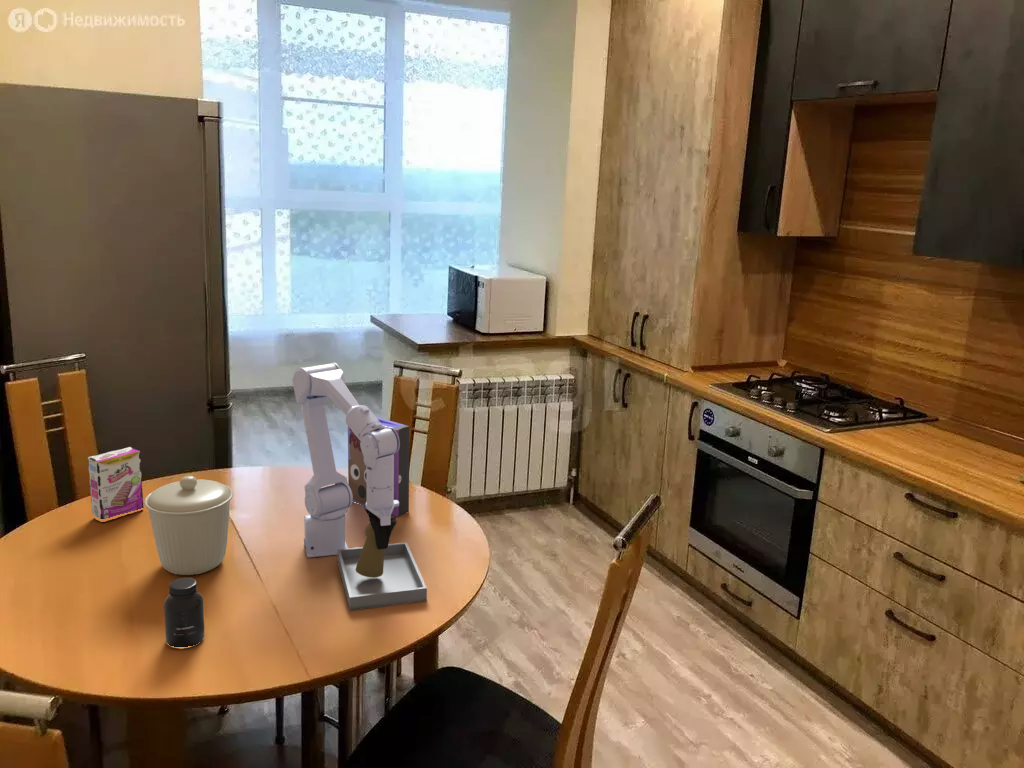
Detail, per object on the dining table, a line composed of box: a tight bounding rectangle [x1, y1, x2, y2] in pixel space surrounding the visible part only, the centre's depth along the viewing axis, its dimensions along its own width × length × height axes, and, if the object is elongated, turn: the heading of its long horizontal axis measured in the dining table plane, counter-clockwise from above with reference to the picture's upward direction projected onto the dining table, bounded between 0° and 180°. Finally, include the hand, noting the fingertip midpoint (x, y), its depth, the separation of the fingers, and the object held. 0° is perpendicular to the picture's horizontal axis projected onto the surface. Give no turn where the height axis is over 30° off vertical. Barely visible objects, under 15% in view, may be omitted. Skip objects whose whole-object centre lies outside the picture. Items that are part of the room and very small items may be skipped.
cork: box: [356, 522, 385, 578], centre depth 176 cm, size 6×6×11 cm
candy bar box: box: [87, 446, 144, 519], centre depth 203 cm, size 11×5×16 cm, turn 144°
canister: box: [143, 475, 234, 576], centre depth 179 cm, size 18×18×21 cm
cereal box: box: [347, 416, 410, 519], centre depth 214 cm, size 17×5×24 cm, turn 55°
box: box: [336, 542, 428, 612], centre depth 178 cm, size 16×22×3 cm
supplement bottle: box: [163, 576, 206, 647], centre depth 152 cm, size 7×7×12 cm
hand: (380, 542), depth 176 cm, fingers closed on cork, 5 cm apart
